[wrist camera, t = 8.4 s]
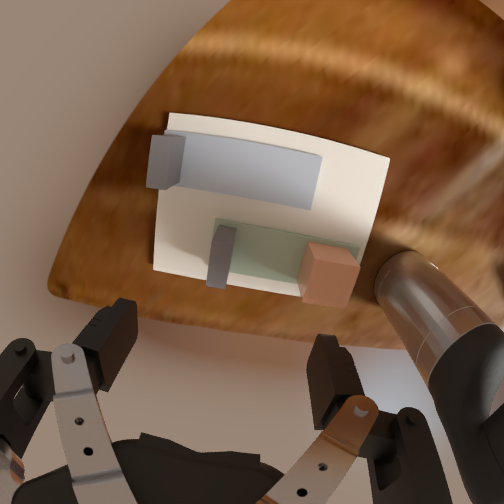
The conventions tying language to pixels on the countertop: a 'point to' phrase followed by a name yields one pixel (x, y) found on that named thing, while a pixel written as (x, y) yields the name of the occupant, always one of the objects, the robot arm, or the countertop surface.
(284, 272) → the block strip
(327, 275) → the block
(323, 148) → the lane board
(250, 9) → the countertop surface
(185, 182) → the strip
